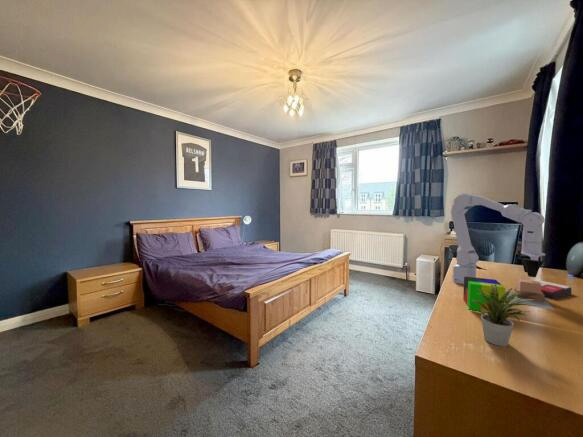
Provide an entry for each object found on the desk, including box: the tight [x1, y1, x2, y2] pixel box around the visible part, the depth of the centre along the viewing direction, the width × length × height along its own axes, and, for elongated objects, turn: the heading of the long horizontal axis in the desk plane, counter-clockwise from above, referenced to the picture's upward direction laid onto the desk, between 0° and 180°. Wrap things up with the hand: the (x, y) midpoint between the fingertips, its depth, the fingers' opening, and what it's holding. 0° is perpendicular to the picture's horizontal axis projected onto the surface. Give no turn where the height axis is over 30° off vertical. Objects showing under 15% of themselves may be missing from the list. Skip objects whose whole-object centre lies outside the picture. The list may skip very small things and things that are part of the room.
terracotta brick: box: [518, 278, 541, 294], centre depth 100 cm, size 6×4×4 cm, turn 53°
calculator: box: [537, 279, 572, 300], centre depth 106 cm, size 11×4×15 cm
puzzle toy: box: [462, 276, 506, 313], centre depth 91 cm, size 10×10×10 cm
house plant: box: [472, 284, 534, 347], centre depth 67 cm, size 14×14×16 cm
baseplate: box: [505, 290, 555, 311], centre depth 100 cm, size 20×16×1 cm
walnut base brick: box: [514, 286, 546, 301], centre depth 100 cm, size 8×6×2 cm
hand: (529, 274), depth 100 cm, fingers open, 7 cm apart
